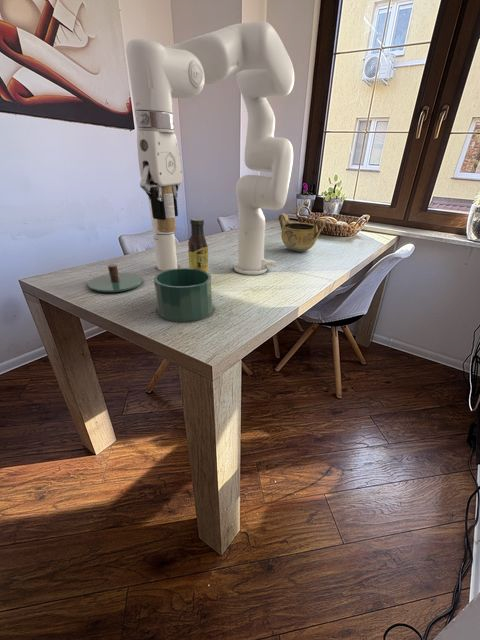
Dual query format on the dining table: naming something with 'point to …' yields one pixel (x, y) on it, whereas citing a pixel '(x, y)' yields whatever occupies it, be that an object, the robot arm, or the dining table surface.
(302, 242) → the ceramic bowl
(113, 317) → the dining table surface
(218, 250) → the dining table surface
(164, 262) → the cylindrical container
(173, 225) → the sprinkles bottle
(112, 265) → the lid
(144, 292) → the dining table surface
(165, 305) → the canister
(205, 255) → the sauce bottle
